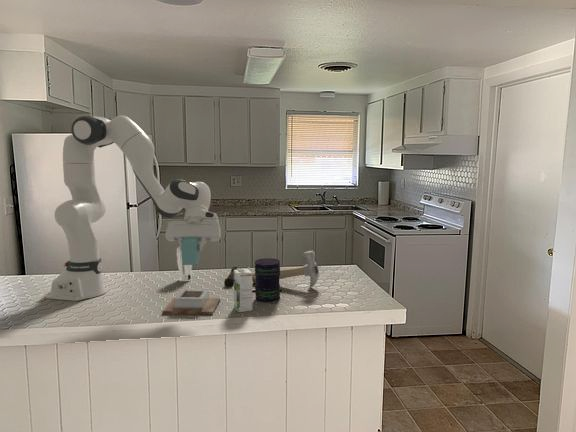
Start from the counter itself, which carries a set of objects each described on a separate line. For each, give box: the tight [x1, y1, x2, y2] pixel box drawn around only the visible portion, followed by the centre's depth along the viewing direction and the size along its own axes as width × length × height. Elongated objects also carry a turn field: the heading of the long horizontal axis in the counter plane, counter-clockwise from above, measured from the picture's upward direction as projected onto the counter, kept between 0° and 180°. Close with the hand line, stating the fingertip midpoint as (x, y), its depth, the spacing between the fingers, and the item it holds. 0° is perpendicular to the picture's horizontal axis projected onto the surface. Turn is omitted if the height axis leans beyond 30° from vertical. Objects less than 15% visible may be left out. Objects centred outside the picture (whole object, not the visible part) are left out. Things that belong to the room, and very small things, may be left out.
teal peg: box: [181, 238, 200, 266], centre depth 160 cm, size 5×5×9 cm
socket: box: [174, 289, 210, 310], centre depth 162 cm, size 10×10×4 cm
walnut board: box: [161, 297, 221, 315], centre depth 163 cm, size 18×14×1 cm
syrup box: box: [233, 268, 253, 313], centre depth 160 cm, size 6×6×14 cm
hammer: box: [252, 250, 320, 291], centre depth 187 cm, size 16×5×30 cm
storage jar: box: [254, 258, 281, 304], centre depth 171 cm, size 10×10×15 cm
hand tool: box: [224, 266, 238, 288], centre depth 197 cm, size 19×4×5 cm, turn 175°
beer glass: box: [176, 245, 193, 283], centre depth 197 cm, size 7×7×15 cm
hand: (190, 249), depth 160 cm, fingers closed on teal peg, 5 cm apart
